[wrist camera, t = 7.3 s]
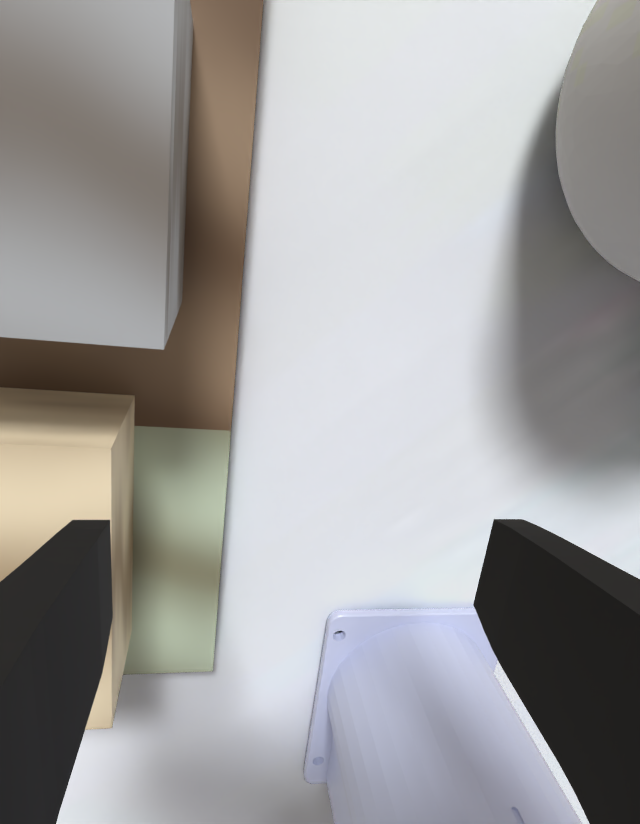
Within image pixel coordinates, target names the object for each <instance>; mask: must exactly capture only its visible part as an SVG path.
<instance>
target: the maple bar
mask: <svg viewBox="0 0 640 824" xmlns="http://www.w3.org/2000/svg"><path fill="white" fill-rule="evenodd" d="M134 413H135V395H119V394H102V393H86V392H69V391H53V390H36V389H20V388H4V387H0V582H1V581H2V580H3V579H4V578H5V577H6V576H8V575H9V574H10V573H11V572H12V571H14V570H15V569H16V568H17V567H18V566H20V565H21V564H22V563H23V562H24V561H25V560H27V559H28V558H29V557H30V556H31V555H32V554H33V553H35V552H36V551H37V550H38V549H39V548H40V547H41V546H43V545H44V544H45V543H46V542H47V541H48V540H49V539H51V538H52V537H53V536H54V535H55V534H56V533H57V532H59V531H60V530H61V529H62V528H63V527H65V526H66V525H67V524H68V523H69V522H71V521H72V520H110V534H111V569H112V603H113V619H112V624H111V630H110V636H109V641H108V647H107V652H106V657H105V662H104V667H103V672H102V676H101V679H100V682H99V686H98V689H97V692H96V696H95V699H94V702H93V705H92V708H91V712H90V715H89V718H88V721H87V725H86V728H85V730H88V729H106V728H112V725H113V720H114V715H115V710H116V705H117V701H118V696H119V691H120V686H121V681H122V676H123V671H124V666H125V661H126V657H127V652H128V647H129V642H130V637H131V632H132V571H133V492H134Z"/></svg>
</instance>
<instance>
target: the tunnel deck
mask: <svg viewBox="0 0 640 824" xmlns="http://www.w3.org/2000/svg"><path fill="white" fill-rule="evenodd" d="M262 13H263V0H0V387H4V388H20V389H36V390H53V391H69V392H86V393H102V394H119V395H135V413H134V492H133V571H132V632H131V637H130V642H129V647H128V652H127V657H126V661H125V666H124V671H123V675H125V674H152V673H179V672H206V671H213V661H214V648H215V635H216V622H217V608H218V595H219V582H220V569H221V556H222V542H223V529H224V516H225V503H226V489H227V476H228V463H229V450H230V436H231V423H232V410H233V397H234V383H235V370H236V357H237V344H238V331H239V317H240V304H241V291H242V278H243V264H244V251H245V238H246V225H247V211H248V198H249V185H250V172H251V158H252V145H253V132H254V119H255V106H256V92H257V79H258V66H259V53H260V39H261V26H262Z"/></svg>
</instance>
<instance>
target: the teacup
mask: <svg viewBox="0 0 640 824" xmlns="http://www.w3.org/2000/svg"><path fill="white" fill-rule="evenodd" d="M556 156H557V165H558V173H559V178H560V182H561V186H562V189H563V192H564V195H565V198H566V201H567V204H568V207H569V210H570V212H571V214H572V216H573V219H574V220H575V222H576V223H577V225H578V227H579V228H580V230H581V232H582V233H583V235H584V236H585V237H586V239H587V240H588V241H589V243H590V244H591V245H592V247H593V248H594V249H595V250H596V251H597V252H598V253H599V254H600V255H601V256H602V257H603V258H604V259H605V260H606V261H608V262H609V263H610V264H611V265H612V266H614V267H615V268H617V269H618V270H619V271H621V272H622V273H624V274H626V275H628V276H629V277H631V278H633V279H635V280H637V281H639V282H640V0H597V2H596V4H595V5H594V7H593V9H592V11H591V13H590V14H589V16H588V18H587V20H586V22H585V23H584V25H583V27H582V30H581V32H580V34H579V37H578V39H577V41H576V44H575V46H574V49H573V52H572V54H571V57H570V60H569V62H568V65H567V68H566V71H565V75H564V79H563V84H562V88H561V92H560V97H559V104H558V112H557V121H556Z"/></svg>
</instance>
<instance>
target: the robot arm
mask: <svg viewBox="0 0 640 824" xmlns="http://www.w3.org/2000/svg"><path fill="white" fill-rule="evenodd" d="M473 605H474V607H475V608H434V609H370V610H338V611H335V612H333V613H331V615H330V616H329V617H328V620H327V625H326V632H325V638H324V644H323V651H322V657H321V663H320V670H319V676H318V682H317V689H316V695H315V701H314V708H313V714H312V720H311V727H310V733H309V740H308V746H307V752H306V759H305V765H304V777H305V780H306V781H307V782H308V783H310V784H319V783H327V788H328V793H329V798H330V804H331V809H332V814H333V820H334V824H582V822H581V821H580V819H579V817H578V816H577V814H576V812H575V810H574V809H573V807H572V805H571V804H570V802H569V800H568V799H567V797H566V795H565V793H564V792H563V790H562V788H561V787H560V785H559V783H558V782H557V780H556V778H555V776H554V775H553V773H552V771H551V770H550V768H549V766H548V765H547V763H546V761H545V759H544V758H543V756H542V754H541V753H540V751H539V749H538V748H537V746H536V744H535V742H534V741H533V739H532V737H531V736H530V734H529V732H528V731H527V729H526V727H525V725H524V724H523V722H522V720H521V719H520V717H519V715H518V714H517V712H516V710H515V708H514V707H513V705H512V703H511V702H510V700H509V698H508V697H507V695H506V693H505V692H504V690H503V688H502V686H501V685H500V683H499V681H498V680H497V678H496V676H495V675H494V671H495V667H496V664H497V660H498V661H499V663H500V665H501V666H502V668H503V670H504V671H505V673H506V675H507V677H508V678H509V680H510V682H511V683H512V685H513V687H514V689H515V690H516V692H517V694H518V695H519V697H520V699H521V700H522V702H523V704H524V705H525V707H526V709H527V710H528V712H529V714H530V715H531V717H532V719H533V721H534V722H535V724H536V726H537V727H538V729H539V731H540V732H541V734H542V736H543V737H544V739H545V741H546V742H547V744H548V746H549V747H550V749H551V751H552V752H553V754H554V756H555V757H556V759H557V761H558V762H559V764H560V766H561V768H562V770H563V771H564V773H565V775H566V777H567V779H568V781H569V782H570V784H571V786H572V788H573V790H574V792H575V794H576V796H577V798H578V800H579V802H580V804H581V806H582V808H583V810H584V812H585V815H586V817H587V819H588V821H589V823H590V824H640V579H638V578H636V577H634V576H632V575H630V574H628V573H627V572H625V571H623V570H621V569H619V568H617V567H615V566H613V565H611V564H610V563H608V562H606V561H604V560H602V559H600V558H598V557H597V556H595V555H593V554H591V553H589V552H587V551H585V550H584V549H582V548H580V547H578V546H576V545H574V544H572V543H571V542H569V541H567V540H565V539H563V538H561V537H559V536H557V535H555V534H553V533H551V532H549V531H547V530H545V529H543V528H541V527H539V526H537V525H535V524H532V523H530V522H527V521H525V520H522V519H494V521H493V526H492V530H491V534H490V538H489V542H488V546H487V550H486V555H485V559H484V563H483V567H482V571H481V575H480V579H479V584H478V588H477V592H476V596H475V600H474V604H473ZM112 619H113V603H112V569H111V534H110V520H72V521H71V522H69V523H68V524H67V525H66V526H65V527H63V528H62V529H61V530H60V531H59V532H57V533H56V534H55V535H54V536H53V537H52V538H51V539H49V540H48V541H47V542H46V543H45V544H44V545H43V546H41V547H40V548H39V549H38V550H37V551H36V552H35V553H33V554H32V555H31V556H30V557H29V558H28V559H27V560H25V561H24V562H23V563H22V564H21V565H20V566H18V567H17V568H16V569H15V570H14V571H12V572H11V573H10V574H9V575H8V576H6V577H5V578H4V579H3V580H2V581H1V582H0V824H56V821H57V818H58V814H59V811H60V807H61V804H62V801H63V798H64V795H65V792H66V788H67V785H68V782H69V779H70V776H71V772H72V769H73V766H74V763H75V760H76V756H77V753H78V750H79V747H80V744H81V741H82V737H83V734H84V731H85V728H86V725H87V721H88V718H89V715H90V712H91V708H92V705H93V702H94V699H95V696H96V692H97V689H98V686H99V682H100V679H101V676H102V672H103V667H104V662H105V657H106V652H107V647H108V641H109V636H110V630H111V624H112ZM337 631H342V632H341V633H339V634H334V633H335V632H337Z"/></svg>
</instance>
